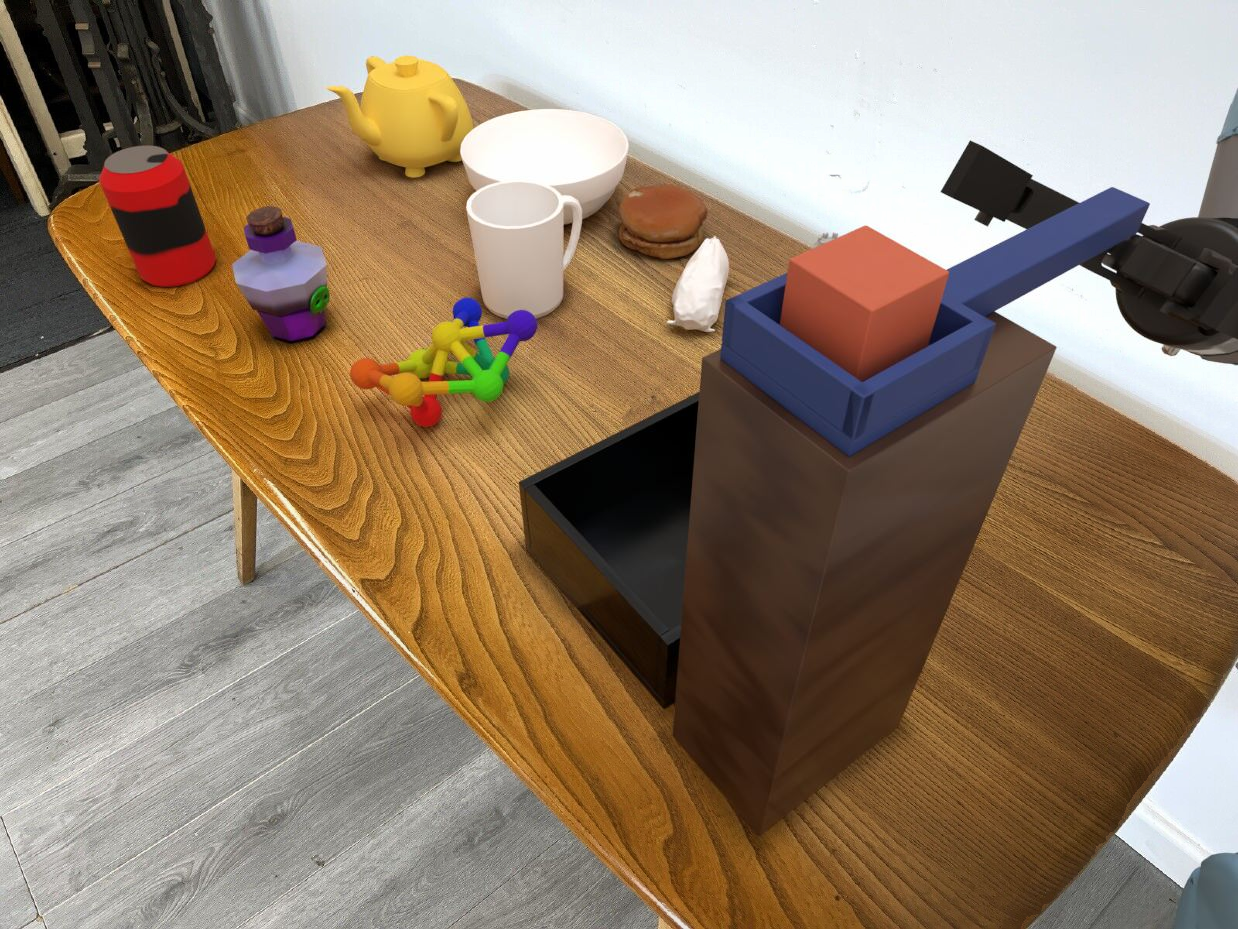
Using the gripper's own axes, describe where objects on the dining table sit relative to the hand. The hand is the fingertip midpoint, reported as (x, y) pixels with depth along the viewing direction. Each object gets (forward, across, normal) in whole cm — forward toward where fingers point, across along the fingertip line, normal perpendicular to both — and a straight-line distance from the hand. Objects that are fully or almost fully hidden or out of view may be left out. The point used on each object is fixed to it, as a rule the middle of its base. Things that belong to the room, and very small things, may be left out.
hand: (1081, 226), depth 42 cm
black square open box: (-7, +14, -32) cm, 36 cm away
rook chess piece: (-34, +31, -16) cm, 49 cm away
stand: (-4, 0, -33) cm, 34 cm away
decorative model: (-4, +41, -34) cm, 53 cm away
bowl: (-25, +64, -22) cm, 72 cm away
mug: (-16, +50, -27) cm, 59 cm away
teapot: (-18, +83, -26) cm, 89 cm away
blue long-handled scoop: (+6, 0, -5) cm, 8 cm away
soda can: (+8, +76, -41) cm, 86 cm away
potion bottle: (+3, +59, -38) cm, 70 cm away
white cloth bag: (-26, +38, -21) cm, 51 cm away
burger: (-30, +51, -18) cm, 62 cm away
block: (+13, 0, -8) cm, 15 cm away
